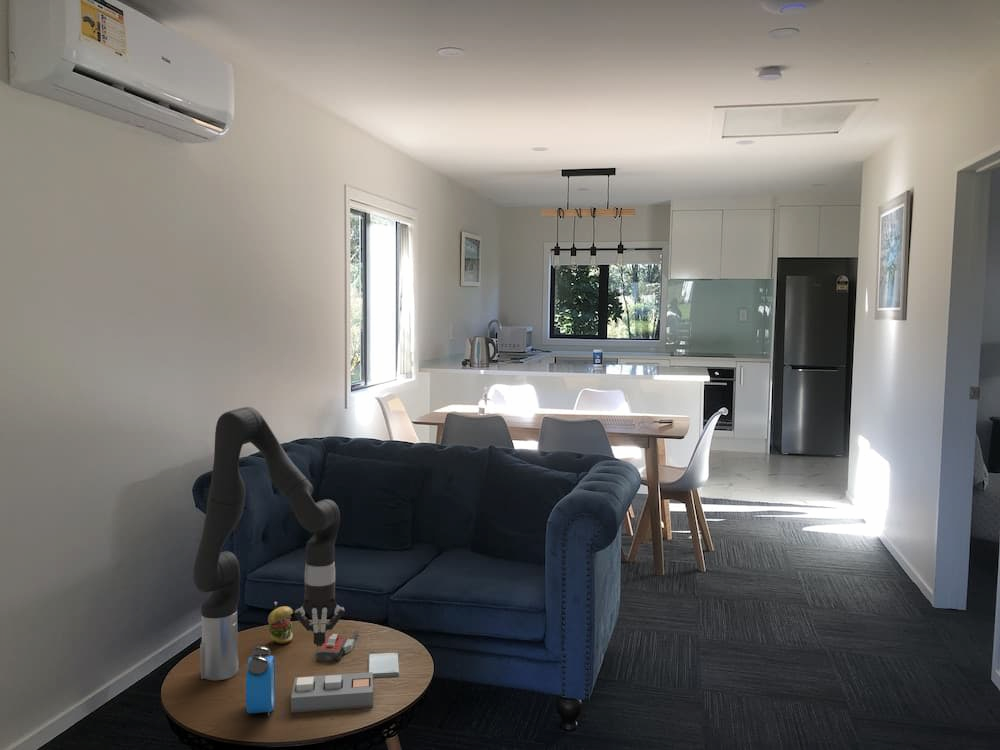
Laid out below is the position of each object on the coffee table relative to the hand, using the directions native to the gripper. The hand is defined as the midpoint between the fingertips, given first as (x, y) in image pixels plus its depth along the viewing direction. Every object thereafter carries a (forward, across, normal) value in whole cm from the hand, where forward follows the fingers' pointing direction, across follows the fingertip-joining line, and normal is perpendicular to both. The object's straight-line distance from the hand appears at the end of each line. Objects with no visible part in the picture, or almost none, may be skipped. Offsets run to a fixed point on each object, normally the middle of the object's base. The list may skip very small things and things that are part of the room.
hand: (319, 644), depth 205 cm
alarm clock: (+14, -14, -4) cm, 21 cm away
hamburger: (+15, -12, +37) cm, 42 cm away
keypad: (+14, +4, -1) cm, 15 cm away
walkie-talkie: (+15, +5, +29) cm, 33 cm away
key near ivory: (+12, -3, -1) cm, 12 cm away
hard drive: (+15, +17, +15) cm, 27 cm away
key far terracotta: (+13, +11, -2) cm, 17 cm away
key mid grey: (+12, +4, -1) cm, 12 cm away
